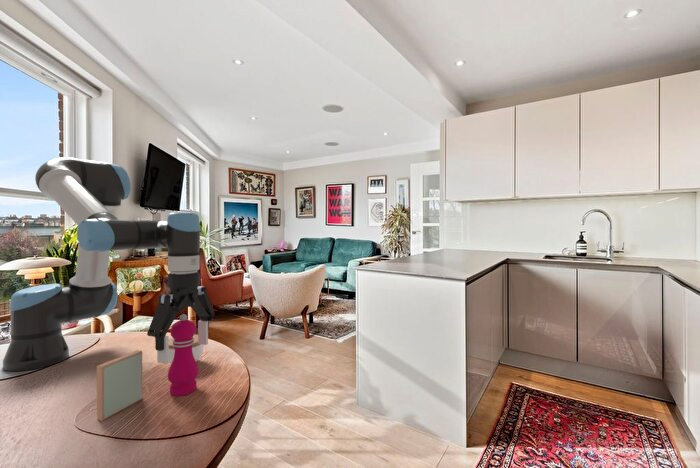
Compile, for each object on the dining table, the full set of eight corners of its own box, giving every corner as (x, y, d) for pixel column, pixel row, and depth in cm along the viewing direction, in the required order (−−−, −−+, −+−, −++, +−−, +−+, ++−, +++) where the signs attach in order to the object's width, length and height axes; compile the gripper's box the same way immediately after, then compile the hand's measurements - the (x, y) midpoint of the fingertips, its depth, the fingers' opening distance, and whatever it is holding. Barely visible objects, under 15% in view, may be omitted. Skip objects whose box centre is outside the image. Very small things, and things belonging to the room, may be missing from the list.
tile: (97, 419, 74) (96, 366, 74) (137, 397, 84) (137, 350, 84) (103, 421, 74) (102, 367, 74) (143, 398, 84) (143, 351, 83)
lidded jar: (210, 358, 109) (210, 329, 109) (191, 372, 99) (191, 341, 98) (179, 356, 110) (179, 328, 110) (157, 370, 100) (157, 339, 99)
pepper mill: (204, 386, 90) (204, 312, 90) (183, 399, 83) (183, 319, 83) (183, 382, 93) (183, 309, 92) (161, 394, 86) (160, 316, 85)
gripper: (154, 279, 75) (155, 374, 75) (227, 267, 98) (227, 339, 99) (129, 277, 77) (129, 369, 77) (206, 266, 101) (206, 336, 101)
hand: (184, 352), depth 88 cm, fingers open, 13 cm apart
